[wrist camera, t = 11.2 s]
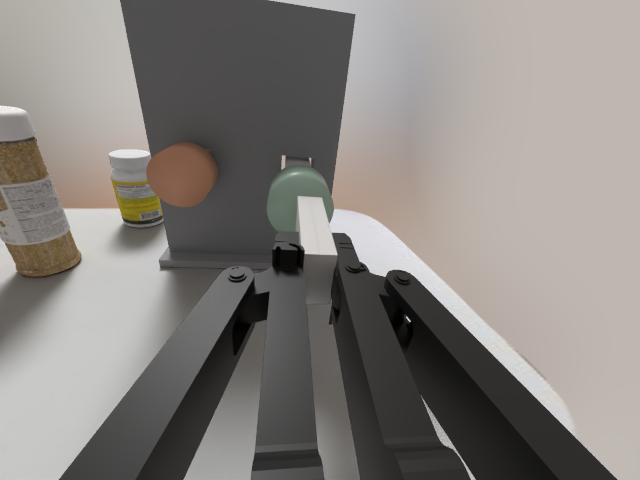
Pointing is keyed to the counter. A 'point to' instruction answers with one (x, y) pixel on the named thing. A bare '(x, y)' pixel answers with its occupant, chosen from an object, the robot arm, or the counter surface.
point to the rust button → (182, 174)
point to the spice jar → (30, 202)
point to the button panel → (238, 109)
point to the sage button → (295, 192)
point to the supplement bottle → (134, 188)
